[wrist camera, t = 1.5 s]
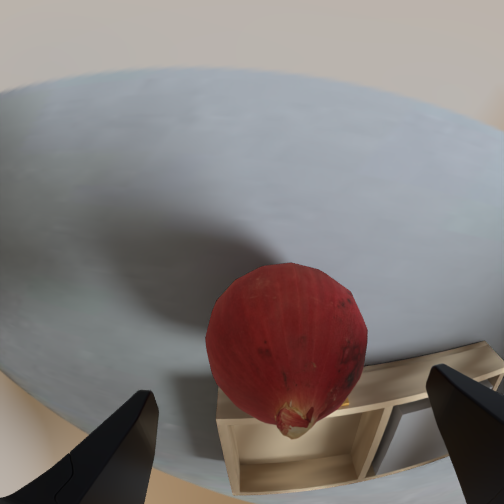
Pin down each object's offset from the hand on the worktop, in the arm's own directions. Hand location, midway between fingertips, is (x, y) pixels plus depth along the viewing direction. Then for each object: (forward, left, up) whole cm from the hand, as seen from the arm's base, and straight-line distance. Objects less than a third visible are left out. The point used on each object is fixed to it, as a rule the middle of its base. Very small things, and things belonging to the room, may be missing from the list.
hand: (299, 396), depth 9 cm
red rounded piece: (0, 0, -7) cm, 7 cm away
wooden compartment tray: (-5, +9, -6) cm, 13 cm away
